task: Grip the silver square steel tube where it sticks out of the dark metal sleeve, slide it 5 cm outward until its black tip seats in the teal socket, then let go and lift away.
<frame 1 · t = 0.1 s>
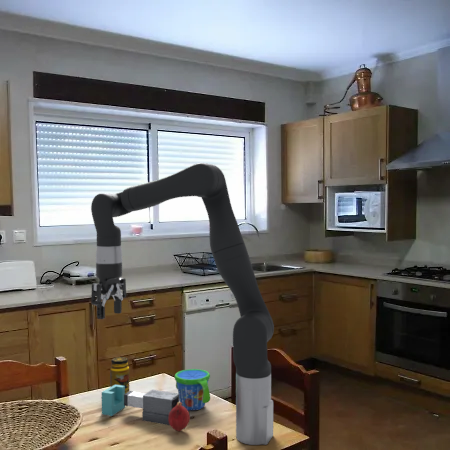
hand: (109, 315, 149), 29 cm above the table, tool pointing down, fingers open, 8 cm apart
sleeve: (161, 418, 146), on the table
slip tube: (147, 401, 147), point 4 cm above the table, slide at 0.0 cm
condiment: (117, 395, 165), on the table
socket: (113, 410, 152), on the table
onion: (179, 432, 137), on the table
snack cup: (192, 407, 155), on the table
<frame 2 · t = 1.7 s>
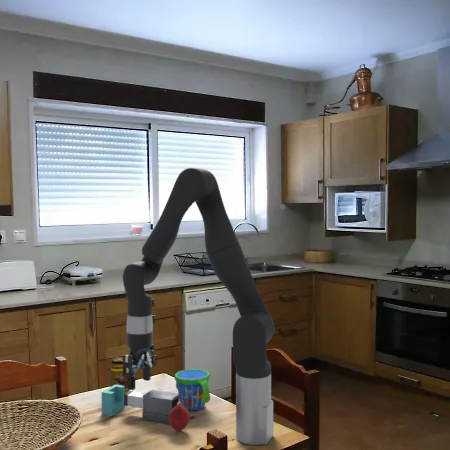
hand: (139, 384, 148), 9 cm above the table, tool pointing down, fingers open, 8 cm apart
nothing on the table moved.
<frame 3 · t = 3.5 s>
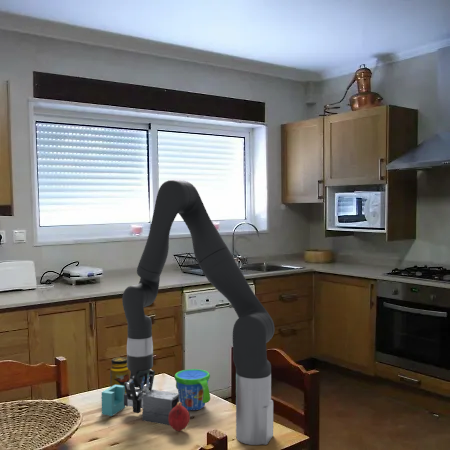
hand: (140, 409, 148), 2 cm above the table, tool pointing down, fingers closed on slip tube, 3 cm apart
slip tube: (147, 401, 147), point 5 cm above the table, slide at 0.0 cm, touching gripper
everything else where it was.
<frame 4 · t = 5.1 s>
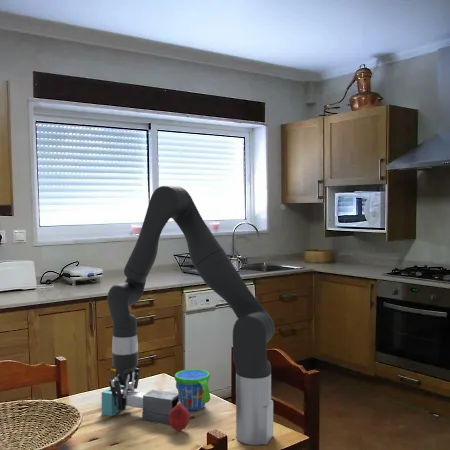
hand: (125, 407, 150), 2 cm above the table, tool pointing down, fingers closed on slip tube, 3 cm apart
slip tube: (132, 398, 149), point 5 cm above the table, slide at 5.1 cm, touching gripper
everything else where it was.
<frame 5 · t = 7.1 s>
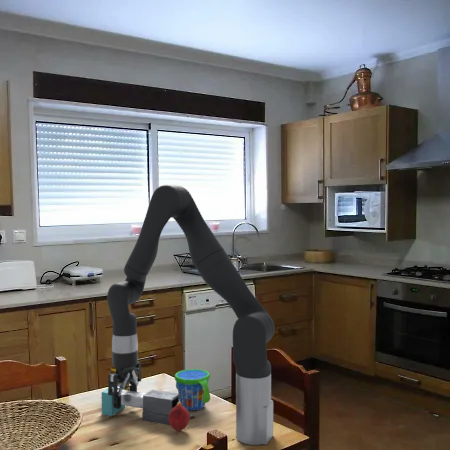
hand: (125, 402, 150), 3 cm above the table, tool pointing down, fingers open, 8 cm apart
slip tube: (132, 399, 149), point 4 cm above the table, slide at 5.0 cm
everything else where it was.
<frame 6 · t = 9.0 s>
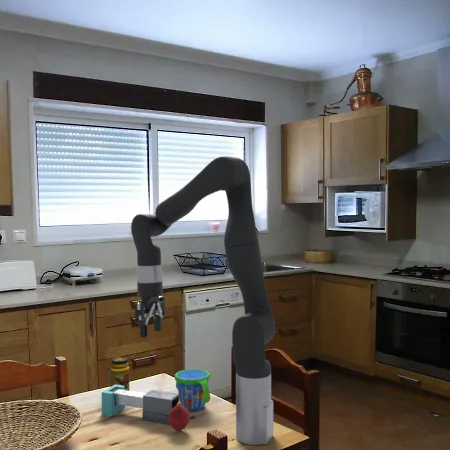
hand: (151, 334, 151), 23 cm above the table, tool pointing down, fingers open, 8 cm apart
nothing on the table moved.
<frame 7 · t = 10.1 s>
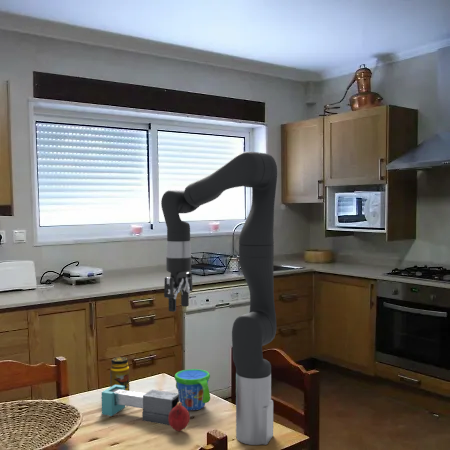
hand: (178, 308, 154), 30 cm above the table, tool pointing down, fingers open, 8 cm apart
nothing on the table moved.
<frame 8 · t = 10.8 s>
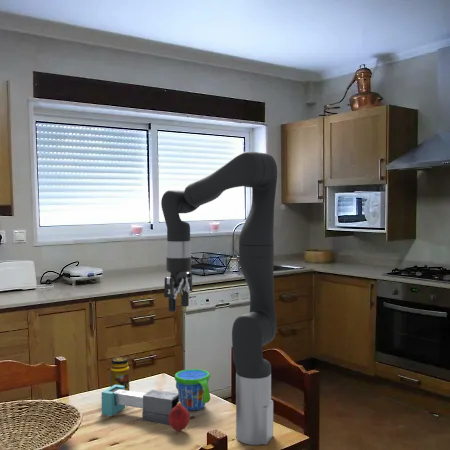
hand: (178, 308, 154), 30 cm above the table, tool pointing down, fingers open, 8 cm apart
nothing on the table moved.
at the end: slip tube slide at 5.0 cm; the gripper is holding nothing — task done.
